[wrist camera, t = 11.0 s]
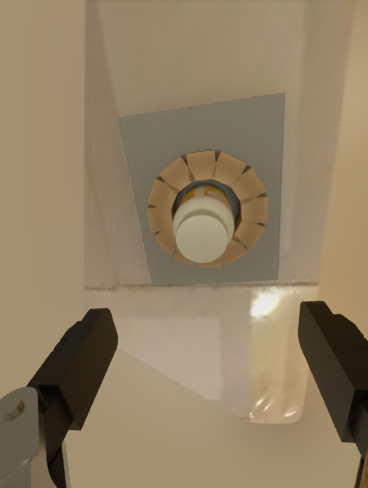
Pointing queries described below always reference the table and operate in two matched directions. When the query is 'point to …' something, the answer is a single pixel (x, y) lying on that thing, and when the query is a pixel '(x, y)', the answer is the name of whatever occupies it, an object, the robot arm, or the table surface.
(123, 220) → the table surface
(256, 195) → the segmented wooden ring
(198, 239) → the supplement bottle
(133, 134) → the gray rectangular board
